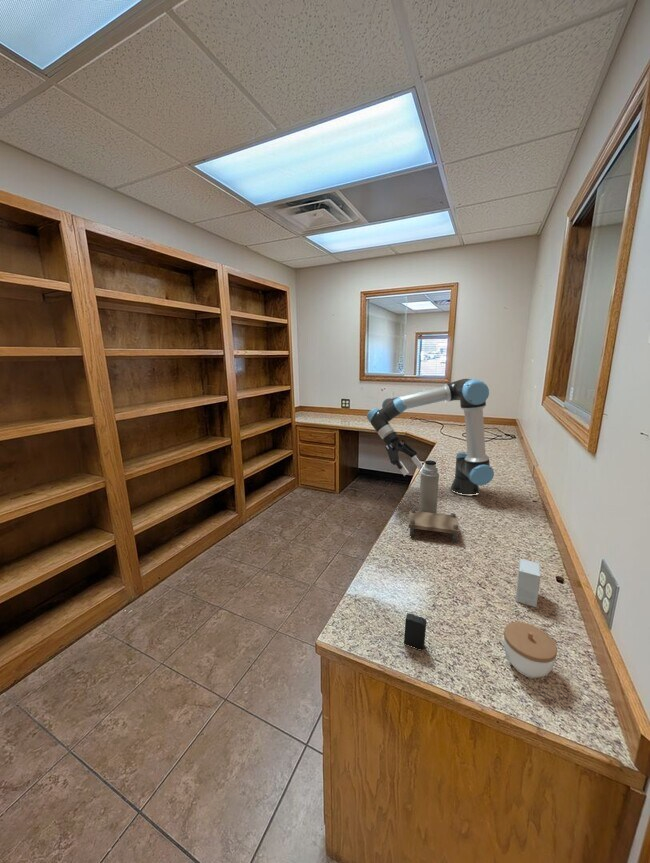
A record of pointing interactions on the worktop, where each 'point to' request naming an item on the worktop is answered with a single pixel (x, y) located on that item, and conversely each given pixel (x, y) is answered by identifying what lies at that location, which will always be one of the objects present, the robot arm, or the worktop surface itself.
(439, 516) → the peg shelf
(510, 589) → the worktop surface
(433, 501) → the thermos bottle
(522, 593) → the small box
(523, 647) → the lidded jar
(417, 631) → the ink cartridge
